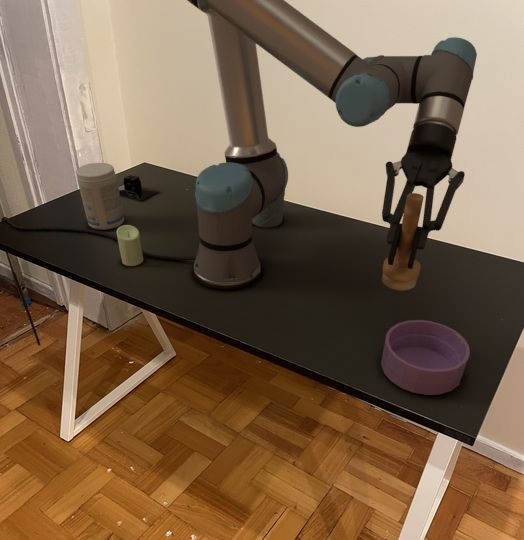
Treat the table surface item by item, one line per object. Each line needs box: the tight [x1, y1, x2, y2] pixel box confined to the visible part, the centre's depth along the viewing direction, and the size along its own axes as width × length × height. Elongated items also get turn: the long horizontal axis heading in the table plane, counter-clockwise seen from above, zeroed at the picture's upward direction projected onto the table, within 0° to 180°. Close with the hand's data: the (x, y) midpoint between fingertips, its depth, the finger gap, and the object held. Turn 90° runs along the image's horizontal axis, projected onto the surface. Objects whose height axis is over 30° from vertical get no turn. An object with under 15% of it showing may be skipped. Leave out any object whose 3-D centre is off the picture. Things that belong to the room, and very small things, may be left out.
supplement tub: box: [75, 162, 125, 231], centre depth 135 cm, size 10×10×15 cm
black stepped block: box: [118, 174, 158, 202], centre depth 154 cm, size 12×7×5 cm, turn 60°
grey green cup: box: [252, 189, 286, 228], centre depth 137 cm, size 10×10×12 cm
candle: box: [116, 224, 144, 267], centre depth 121 cm, size 5×5×8 cm
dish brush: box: [381, 192, 424, 291], centre depth 89 cm, size 6×6×16 cm
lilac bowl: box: [380, 319, 471, 396], centre depth 92 cm, size 14×14×6 cm
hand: (400, 264), depth 87 cm, fingers closed on dish brush, 3 cm apart
